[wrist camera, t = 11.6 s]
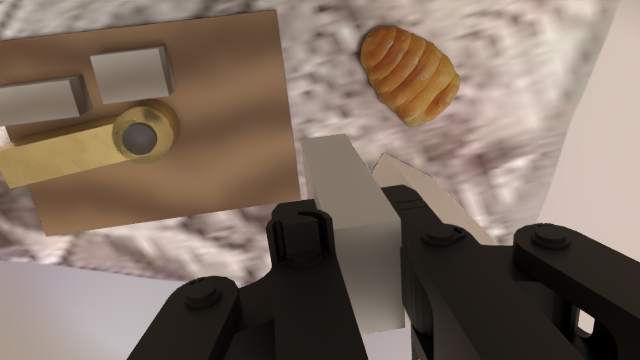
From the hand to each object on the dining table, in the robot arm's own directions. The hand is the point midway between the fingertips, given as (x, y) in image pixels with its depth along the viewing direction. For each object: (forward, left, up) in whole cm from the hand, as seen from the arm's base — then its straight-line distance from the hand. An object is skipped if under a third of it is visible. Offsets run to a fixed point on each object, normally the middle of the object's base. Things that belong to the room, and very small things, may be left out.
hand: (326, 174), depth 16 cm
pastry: (+2, +11, -27) cm, 29 cm away
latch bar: (+3, -16, -25) cm, 30 cm away
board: (+4, -12, -26) cm, 29 cm away
